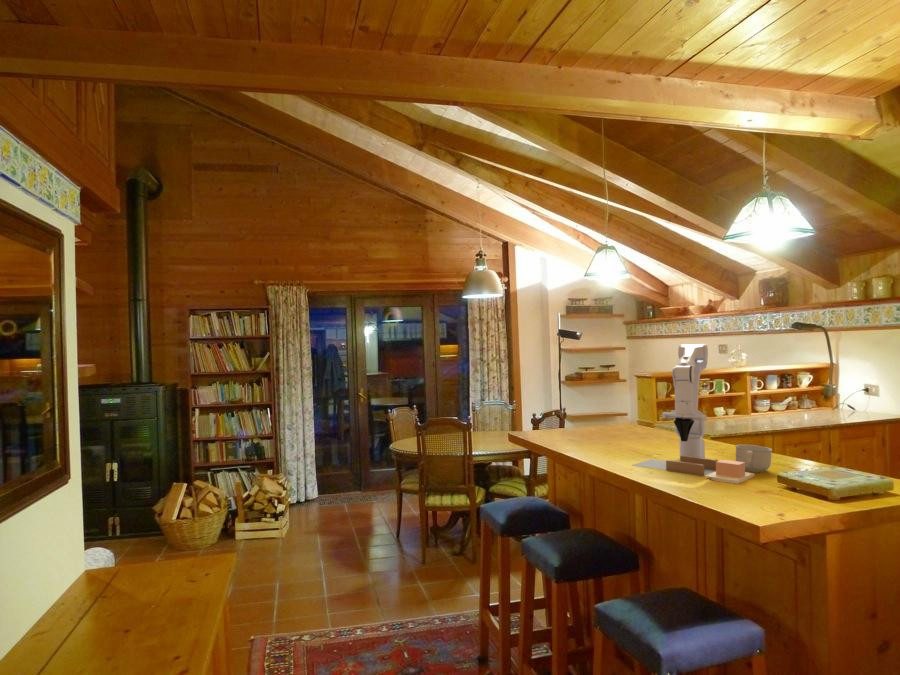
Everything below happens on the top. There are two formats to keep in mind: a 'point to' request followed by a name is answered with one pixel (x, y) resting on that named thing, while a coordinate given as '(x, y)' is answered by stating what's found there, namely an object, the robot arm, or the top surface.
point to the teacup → (754, 457)
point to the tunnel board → (693, 468)
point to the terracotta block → (730, 468)
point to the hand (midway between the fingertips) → (684, 440)
